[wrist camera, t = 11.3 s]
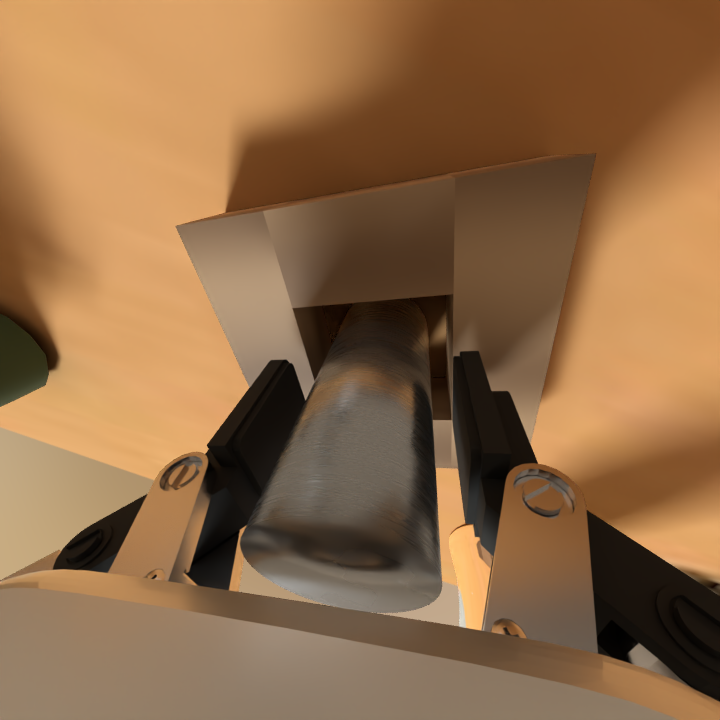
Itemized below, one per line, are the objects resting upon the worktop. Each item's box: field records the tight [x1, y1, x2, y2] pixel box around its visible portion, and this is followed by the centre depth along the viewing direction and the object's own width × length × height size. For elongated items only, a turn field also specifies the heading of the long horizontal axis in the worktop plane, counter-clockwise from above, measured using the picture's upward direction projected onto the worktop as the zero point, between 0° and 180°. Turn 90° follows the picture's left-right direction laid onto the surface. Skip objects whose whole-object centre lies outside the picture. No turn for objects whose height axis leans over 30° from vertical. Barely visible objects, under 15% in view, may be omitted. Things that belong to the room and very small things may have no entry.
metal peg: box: [240, 298, 442, 613], centre depth 10 cm, size 4×4×10 cm
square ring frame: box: [176, 153, 596, 469], centre depth 13 cm, size 12×12×3 cm
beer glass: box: [449, 524, 492, 630], centre depth 17 cm, size 7×7×15 cm
